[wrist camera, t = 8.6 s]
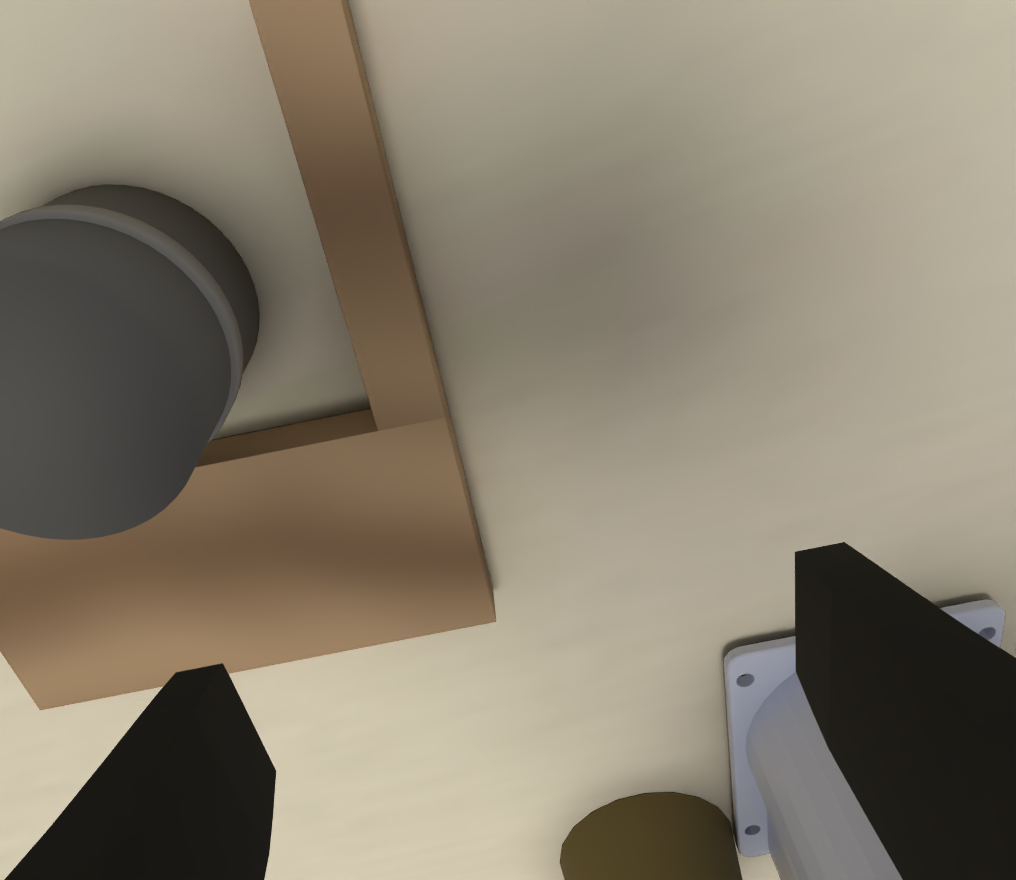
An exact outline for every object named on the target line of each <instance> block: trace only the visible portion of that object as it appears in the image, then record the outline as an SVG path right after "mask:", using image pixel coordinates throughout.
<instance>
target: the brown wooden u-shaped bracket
mask: <svg viewBox="0 0 1016 880" xmlns="http://www.w3.org/2000/svg"><path fill="white" fill-rule="evenodd" d="M249 3H250V6H251V9H252V13H253V16H254V19H255V23H256V26H257V29H258V33H259V36H260V39H261V43H262V46H263V49H264V53H265V56H266V59H267V63H268V66H269V69H270V73H271V76H272V79H273V83H274V86H275V89H276V93H277V96H278V99H279V103H280V106H281V109H282V113H283V116H284V119H285V123H286V126H287V129H288V133H289V136H290V139H291V143H292V146H293V149H294V153H295V156H296V159H297V163H298V166H299V169H300V173H301V176H302V179H303V183H304V186H305V189H306V192H307V196H308V199H309V202H310V206H311V209H312V212H313V216H314V219H315V222H316V226H317V229H318V232H319V236H320V239H321V242H322V246H323V249H324V252H325V256H326V259H327V262H328V266H329V269H330V272H331V276H332V279H333V282H334V286H335V289H336V292H337V296H338V299H339V302H340V306H341V309H342V312H343V316H344V319H345V322H346V326H347V329H348V332H349V336H350V339H351V342H352V346H353V349H354V352H355V356H356V359H357V362H358V366H359V369H360V372H361V376H362V379H363V382H364V386H365V389H366V392H367V396H368V399H369V402H370V406H371V409H367V410H362V411H357V412H352V413H347V414H342V415H337V416H332V417H327V418H322V419H317V420H312V421H307V422H302V423H297V424H292V425H287V426H282V427H277V428H272V429H267V430H262V431H257V432H252V433H247V434H242V435H237V436H232V437H227V438H222V439H217V440H212V441H210V442H209V443H208V444H207V445H206V447H205V449H204V451H203V453H202V455H201V457H200V459H199V461H198V463H197V465H196V467H195V469H194V471H193V473H192V475H191V476H190V478H189V480H188V482H187V484H186V486H185V487H184V488H183V490H182V491H181V492H180V494H179V495H178V496H177V498H176V499H175V500H174V501H173V502H172V503H170V504H169V505H168V506H167V507H166V508H165V509H164V510H163V511H161V512H160V513H159V514H157V515H156V516H154V517H153V518H152V519H150V520H148V521H146V522H144V523H142V524H140V525H138V526H136V527H134V528H131V529H129V530H126V531H123V532H120V533H117V534H113V535H108V536H104V537H99V538H91V539H82V540H59V539H48V538H39V537H34V536H29V535H23V534H19V533H16V532H12V531H9V530H5V529H1V528H0V651H1V653H2V654H3V656H4V657H5V659H6V660H7V662H8V663H9V665H10V666H11V668H12V669H13V671H14V672H15V674H16V675H17V677H18V678H19V680H20V681H21V683H22V684H23V686H24V687H25V689H26V690H27V692H28V693H29V695H30V696H31V697H32V699H33V700H34V702H35V703H36V705H37V706H38V708H39V709H40V710H44V709H49V708H54V707H59V706H64V705H69V704H75V703H80V702H85V701H90V700H95V699H100V698H105V697H111V696H116V695H121V694H126V693H131V692H136V691H141V690H147V689H152V688H157V687H162V686H164V685H165V684H166V683H167V682H168V681H169V680H170V678H171V677H172V676H173V675H174V674H175V673H176V672H180V671H185V670H190V669H196V668H201V667H206V666H211V665H216V664H221V663H223V664H224V666H225V668H226V670H227V672H228V674H229V673H234V672H239V671H244V670H250V669H255V668H260V667H265V666H270V665H275V664H280V663H286V662H291V661H296V660H301V659H306V658H311V657H316V656H322V655H327V654H332V653H337V652H342V651H347V650H352V649H358V648H363V647H368V646H373V645H378V644H383V643H388V642H394V641H399V640H404V639H409V638H414V637H419V636H424V635H430V634H435V633H440V632H445V631H450V630H455V629H461V628H466V627H471V626H476V625H481V624H486V623H491V622H496V614H495V604H494V594H493V588H492V584H491V580H490V576H489V572H488V568H487V564H486V560H485V556H484V552H483V548H482V544H481V539H480V535H479V531H478V527H477V523H476V519H475V515H474V511H473V507H472V503H471V499H470V495H469V491H468V487H467V483H466V479H465V475H464V471H463V466H462V462H461V458H460V454H459V450H458V446H457V442H456V438H455V434H454V430H453V426H452V422H451V418H450V414H449V410H448V406H447V402H446V397H445V393H444V389H443V385H442V381H441V377H440V373H439V369H438V365H437V361H436V357H435V353H434V349H433V345H432V341H431V337H430V333H429V329H428V324H427V320H426V316H425V312H424V308H423V304H422V300H421V296H420V292H419V288H418V284H417V280H416V276H415V272H414V268H413V264H412V260H411V255H410V251H409V247H408V243H407V239H406V235H405V231H404V227H403V223H402V219H401V215H400V211H399V207H398V203H397V199H396V195H395V191H394V187H393V182H392V178H391V174H390V170H389V166H388V162H387V158H386V154H385V150H384V146H383V142H382V138H381V134H380V130H379V126H378V122H377V118H376V113H375V109H374V105H373V101H372V97H371V93H370V89H369V85H368V81H367V77H366V73H365V69H364V65H363V61H362V57H361V53H360V49H359V45H358V40H357V36H356V32H355V28H354V24H353V20H352V16H351V12H350V8H349V4H348V0H249Z"/></svg>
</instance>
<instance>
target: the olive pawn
mask: <svg viewBox="0 0 1016 880" xmlns="http://www.w3.org/2000/svg"><path fill="white" fill-rule="evenodd" d="M560 865H561V869H562V872H563V876H564V879H565V880H742V876H741V871H740V866H739V861H738V857H737V852H736V847H735V843H734V838H733V833H732V828H731V824H730V821H729V820H728V819H727V818H726V816H725V815H724V814H723V813H722V812H721V810H720V809H719V808H718V807H716V806H714V805H712V804H710V803H708V802H707V801H705V800H703V799H701V798H699V797H694V796H689V795H684V794H679V793H674V792H672V793H645V794H641V795H637V796H632V797H628V798H624V799H620V800H617V801H614V802H612V803H610V804H608V805H606V806H604V807H602V808H600V809H598V810H596V811H594V812H592V813H591V814H589V815H588V816H587V817H586V818H585V819H583V820H582V821H581V822H580V823H579V824H577V825H576V826H575V827H574V828H573V829H572V831H571V832H570V834H569V835H568V837H567V839H566V840H565V842H564V843H563V845H562V851H561V858H560Z"/></svg>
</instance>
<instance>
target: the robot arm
mask: <svg viewBox="0 0 1016 880" xmlns="http://www.w3.org/2000/svg"><path fill="white" fill-rule="evenodd" d="M1004 621H1005V612H1004V610H1003V609H1002V608H1001V607H1000V606H999V605H998V604H997V603H996V602H995V601H993V600H990V599H989V600H979V601H974V602H969V603H963V604H958V605H953V606H948V607H943V608H939V607H937V606H936V605H934V604H933V603H931V602H930V601H928V600H927V599H926V598H924V597H923V596H921V595H920V594H918V593H917V592H915V591H914V590H912V589H911V588H910V587H908V586H907V585H905V584H904V583H902V582H901V581H900V580H898V579H897V578H895V577H894V576H892V575H891V574H889V573H888V572H887V571H885V570H884V569H882V568H881V567H879V566H878V565H877V564H875V563H874V562H872V561H871V560H869V559H868V558H866V557H865V556H864V555H862V554H861V553H859V552H858V551H856V550H855V549H853V548H852V547H851V546H849V545H848V544H846V543H845V542H843V543H838V544H833V545H828V546H823V547H817V548H812V549H807V550H802V551H797V552H795V636H792V637H787V638H782V639H777V640H771V641H766V642H761V643H756V644H751V645H745V646H740V647H737V648H734V649H732V650H731V651H730V652H728V654H727V655H726V656H725V658H724V675H725V690H726V706H727V721H728V736H729V751H730V767H731V782H732V797H733V812H734V828H735V842H736V845H737V848H738V850H739V853H740V854H742V855H743V856H747V857H754V856H760V855H765V854H771V856H772V859H773V861H774V864H775V866H776V869H777V871H778V874H779V877H780V879H781V880H1016V658H1015V657H1013V656H1012V655H1010V654H1008V653H1007V652H1005V651H1004V650H1002V649H1001V648H1000V645H1001V639H1002V633H1003V627H1004ZM743 674H746V675H745V676H742V677H740V676H741V675H743ZM275 779H276V770H275V768H274V766H273V764H272V762H271V760H270V758H269V756H268V754H267V752H266V750H265V747H264V745H263V743H262V741H261V739H260V737H259V735H258V733H257V731H256V729H255V727H254V725H253V723H252V721H251V719H250V717H249V715H248V713H247V711H246V709H245V707H244V705H243V703H242V701H241V699H240V697H239V695H238V693H237V690H236V688H235V686H234V684H233V682H232V680H231V678H230V676H229V674H228V672H227V670H226V668H225V666H224V664H223V663H221V664H216V665H211V666H206V667H201V668H196V669H190V670H185V671H180V672H176V673H175V674H174V675H173V676H172V677H171V678H170V680H169V681H168V682H167V683H166V684H165V685H164V687H163V688H162V689H161V690H160V691H159V693H158V694H157V695H156V696H155V698H154V699H153V700H152V701H151V702H150V704H149V705H148V706H147V707H146V709H145V710H144V711H143V712H142V714H141V715H140V716H139V717H138V719H137V720H136V721H135V722H134V724H133V725H132V726H131V728H130V729H129V730H128V731H127V733H126V734H125V735H124V736H123V738H122V739H121V740H120V741H119V743H118V744H117V745H116V746H115V748H114V749H113V750H112V751H111V753H110V754H109V755H108V757H107V758H106V759H105V760H104V762H103V763H102V764H101V765H100V766H99V768H98V769H97V770H96V771H95V773H94V774H93V775H92V776H91V778H90V779H89V780H88V781H87V782H86V784H85V785H84V786H83V787H82V789H81V790H80V791H79V792H78V794H77V795H76V796H75V797H74V798H73V800H72V801H71V802H70V803H69V805H68V806H67V807H66V808H65V810H64V811H63V812H62V813H61V814H60V816H59V817H58V818H57V819H56V821H55V822H54V823H53V824H52V825H51V827H50V828H49V829H48V830H47V831H46V833H45V834H44V835H43V836H42V837H41V838H40V840H39V841H38V842H37V843H36V844H35V845H34V846H33V848H32V849H31V850H30V851H29V852H28V853H27V854H26V856H25V857H24V858H23V859H22V860H21V861H20V862H19V864H18V865H17V866H16V867H15V868H14V869H13V870H12V872H11V873H10V874H9V875H8V876H7V877H6V879H5V880H264V877H265V872H266V867H267V862H268V857H269V850H270V840H271V830H272V820H273V807H274V793H275Z"/></svg>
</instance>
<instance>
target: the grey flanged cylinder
mask: <svg viewBox="0 0 1016 880" xmlns="http://www.w3.org/2000/svg"><path fill="white" fill-rule="evenodd" d="M258 331H259V307H258V299H257V295H256V291H255V287H254V284H253V281H252V279H251V276H250V274H249V271H248V269H247V267H246V266H245V264H244V262H243V260H242V258H241V256H240V255H239V254H238V252H237V251H236V249H235V248H234V247H233V245H232V244H231V242H230V241H229V240H228V239H227V238H226V237H225V236H224V235H223V234H222V232H221V231H220V230H219V229H218V228H216V227H215V226H214V225H213V224H212V223H211V222H210V221H209V220H207V219H206V218H205V217H204V216H202V215H201V214H199V213H198V212H196V211H195V210H194V209H192V208H191V207H189V206H187V205H185V204H183V203H181V202H179V201H178V200H176V199H174V198H171V197H169V196H166V195H164V194H161V193H159V192H155V191H152V190H148V189H144V188H140V187H133V186H127V185H99V186H90V187H86V188H82V189H78V190H74V191H72V192H70V193H67V194H65V195H63V196H60V197H58V198H56V199H55V200H53V201H51V202H49V203H47V204H45V205H43V206H42V207H38V208H34V209H30V210H26V211H22V212H20V213H18V214H15V215H13V216H10V217H8V218H6V219H4V220H2V221H0V528H1V529H5V530H9V531H12V532H16V533H19V534H23V535H29V536H34V537H39V538H48V539H59V540H82V539H91V538H99V537H104V536H108V535H113V534H117V533H120V532H123V531H126V530H129V529H131V528H134V527H136V526H138V525H140V524H142V523H144V522H146V521H148V520H150V519H152V518H153V517H154V516H156V515H157V514H159V513H160V512H161V511H163V510H164V509H165V508H166V507H167V506H168V505H169V504H170V503H172V502H173V501H174V500H175V499H176V498H177V496H178V495H179V494H180V492H181V491H182V490H183V488H184V487H185V486H186V484H187V482H188V480H189V478H190V476H191V475H192V473H193V471H194V469H195V467H196V465H197V463H198V461H199V459H200V457H201V455H202V453H203V451H204V449H205V447H206V445H207V444H208V443H209V442H210V441H211V440H212V439H213V438H214V436H215V435H216V434H217V432H218V431H219V430H220V428H221V427H222V425H223V423H224V421H225V419H226V417H227V415H228V414H229V412H230V410H231V407H232V405H233V403H234V401H235V399H236V396H237V393H238V390H239V387H240V384H241V378H242V374H243V372H244V370H245V368H246V366H247V364H248V362H249V360H250V358H251V356H252V354H253V351H254V348H255V345H256V342H257V336H258Z"/></svg>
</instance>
